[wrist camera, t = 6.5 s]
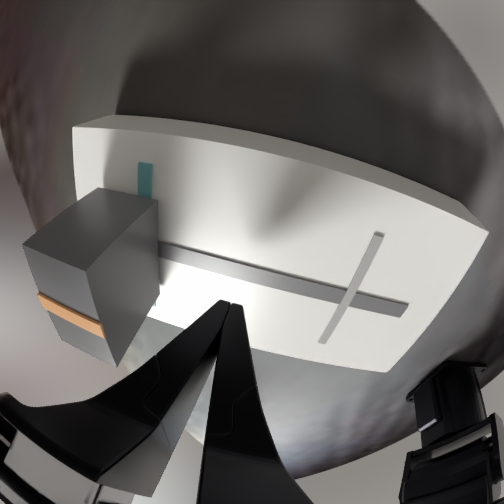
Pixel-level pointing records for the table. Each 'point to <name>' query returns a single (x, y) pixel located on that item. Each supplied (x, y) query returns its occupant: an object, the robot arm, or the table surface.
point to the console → (285, 236)
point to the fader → (98, 270)
